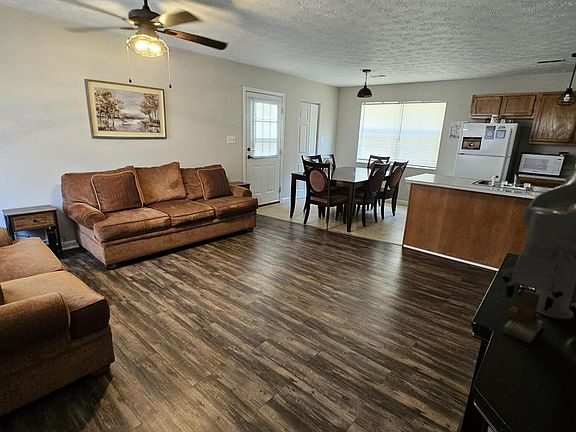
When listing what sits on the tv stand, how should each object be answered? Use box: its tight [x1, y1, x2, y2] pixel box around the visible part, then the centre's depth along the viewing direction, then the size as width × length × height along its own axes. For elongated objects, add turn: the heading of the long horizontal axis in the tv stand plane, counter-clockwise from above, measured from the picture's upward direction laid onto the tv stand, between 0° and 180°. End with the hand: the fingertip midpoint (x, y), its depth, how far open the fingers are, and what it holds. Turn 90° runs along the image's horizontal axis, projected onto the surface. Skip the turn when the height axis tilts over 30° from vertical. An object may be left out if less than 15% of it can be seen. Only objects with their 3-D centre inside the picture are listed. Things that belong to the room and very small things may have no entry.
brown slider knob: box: [506, 288, 540, 325], centre depth 101 cm, size 4×7×11 cm, turn 40°
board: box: [502, 317, 544, 344], centre depth 100 cm, size 14×7×2 cm, turn 130°
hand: (527, 302), depth 100 cm, fingers open, 9 cm apart
